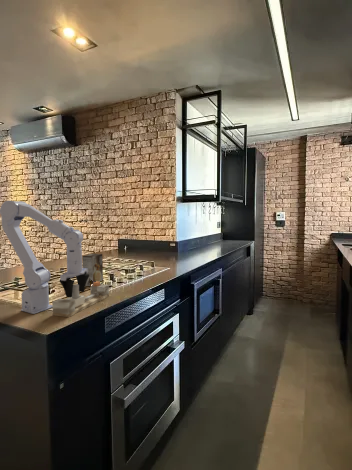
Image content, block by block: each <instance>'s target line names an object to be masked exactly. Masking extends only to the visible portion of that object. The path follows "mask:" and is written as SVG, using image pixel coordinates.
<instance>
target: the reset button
mask: <svg viewBox="0 0 352 470" xmlns="http://www.w3.org/2000/svg"><path fill="white" fill-rule="evenodd" d="M93 286H100V282H98V281H96V282H93Z"/></svg>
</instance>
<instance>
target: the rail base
mask: <svg viewBox="0 0 352 470" xmlns="http://www.w3.org/2000/svg"><path fill="white" fill-rule="evenodd" d="M108 297H110V285H109V284H103V283H102V284H100V286H93V285H92V286H91V287H90V294H89V295H87V296H85V303H84V304H82V305H80V306H77V307H75V301H74V300H66V299H67V298H66V299H64V298H58V299H56V300H53V301H52V304H51V305H52V306H53V307H52V316H56V317H57V316H58V317H62V318H70V317H72V316H74V315H76V314H78V313H80V312H81V311H83V310H86V309H87V308H88V307H91V306H93V305H94V304H95V305H96V304H97V303H98V302H100V301H102V300H105V299H106V298H108Z"/></svg>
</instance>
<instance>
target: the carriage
mask: <svg viewBox="0 0 352 470" xmlns="http://www.w3.org/2000/svg"><path fill="white" fill-rule="evenodd" d="M85 297H86V296H85V295H80V292H79V285H78V283H76V284H75V283H74V284H73V292H72V297H66V300H74V301H75V307H77V306H80V305H82V304H84V303H85Z"/></svg>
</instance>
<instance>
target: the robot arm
mask: <svg viewBox="0 0 352 470" xmlns="http://www.w3.org/2000/svg"><path fill="white" fill-rule="evenodd" d="M0 215H1V228H2V230H3V232H4V234H5V236H6V237H7V239H8V240H9V242H10V244H11V246H12V248H13V251H14V252H15V254H16V256H17V257H18V259H19V260H20V262H21V264H22V267H23V271H22V274H23V277H24V283H25V285H26V287H28V288H27V289H24V290H23V291H22V292H21V309H20V311H22V312H25V313H28V314H31V315H32V314H33V315H34V314H37V313H40V312H44V311H47V310H49V309H53V306H52V304H50V294H49V293H50V292H49V291H50V290H49V281H50V280H51V277H52V275H51V272H50V270H48V269H47V268H46V267H45V265H44V264H43V263H42V262H40V261H38V259H37V257H36V254H35V253H34V252H33V250H32V248H31V246H30V244H29V242H28V240H27V239H26V236H25V235H24V233H23V232H22V231H23V230H22V229H21V227H20V225H21V223H22V221H23V220H24V219H25V218H31V219H32V220H34V221H36V222H38V223H39V224H41V225H43V226H45V227H47V229H48V232H49V233H51V234H53V235H54V236H55V237H57V238H58V239H61V240H63V242H64V244H65V246H66V272H65V273H62V274H60V276H59V277H60V279H59V283H60V284H61V286H62V287H63V290H64V293H65V296H66V298H70V297H72V292H73V285H74V284H75V281H77V284H78V285H79V293H84V292H85V291H86V290H85V289H86V286H85V285H86V282H87V280H88V278H89V274H86V273H88V268H83V257H82V256H83V248H82V247H83V245H82V242H83V240H84V234H83V232H82V231H80V230H79V229H75V228H74V227H73V226H69V225H68V224H67V223H64V220H63V219H52V218H50V217H49V216H47V215H46V214H44V213H43V212H42V211H40V210H39V209H37V208H35V207H34V206H32V205H31V204H29V203H27V202H26V201H24V200H19V201H17V200H16V201H15V200H5V201H4V202H3V203H2V204H1V206H0ZM72 278H76V280H74V279H72Z"/></svg>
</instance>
